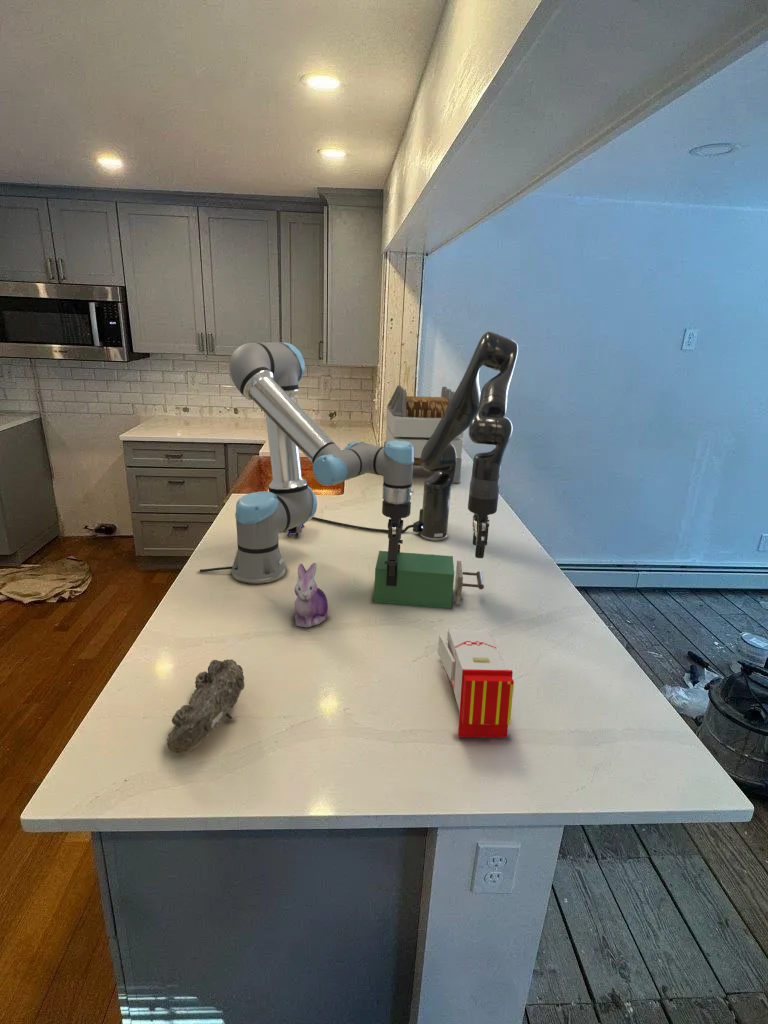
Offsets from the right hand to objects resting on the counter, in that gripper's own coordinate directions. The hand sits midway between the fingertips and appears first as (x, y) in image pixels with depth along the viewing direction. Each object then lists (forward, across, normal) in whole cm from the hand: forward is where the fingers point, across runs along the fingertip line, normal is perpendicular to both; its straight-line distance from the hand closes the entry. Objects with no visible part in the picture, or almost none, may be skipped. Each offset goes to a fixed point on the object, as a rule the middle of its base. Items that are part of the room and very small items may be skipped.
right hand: (477, 551), depth 152 cm
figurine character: (+14, +40, +59) cm, 73 cm away
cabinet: (+14, 0, +16) cm, 22 cm away
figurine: (+15, -17, +42) cm, 48 cm away
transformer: (+14, +125, +16) cm, 127 cm away
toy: (+15, -41, +4) cm, 44 cm away
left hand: (+9, 0, +22) cm, 24 cm away
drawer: (+14, 0, +10) cm, 17 cm away
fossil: (+15, -55, +54) cm, 78 cm away
